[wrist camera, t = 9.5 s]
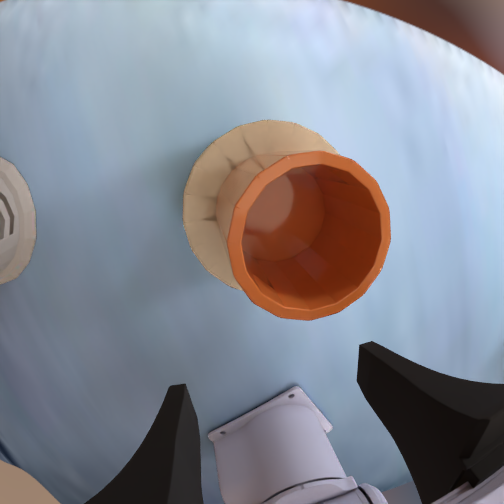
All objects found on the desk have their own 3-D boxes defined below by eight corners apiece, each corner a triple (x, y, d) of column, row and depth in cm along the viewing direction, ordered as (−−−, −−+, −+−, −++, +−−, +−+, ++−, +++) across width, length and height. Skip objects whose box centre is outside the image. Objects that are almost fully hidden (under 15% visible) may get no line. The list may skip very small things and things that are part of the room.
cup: (255, 284, 15) (286, 348, 10) (192, 194, 14) (191, 218, 9) (344, 225, 15) (410, 259, 10) (291, 131, 14) (346, 120, 8)
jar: (233, 280, 22) (247, 324, 16) (160, 178, 19) (146, 187, 13) (333, 212, 22) (379, 234, 16) (271, 107, 19) (302, 89, 13)
